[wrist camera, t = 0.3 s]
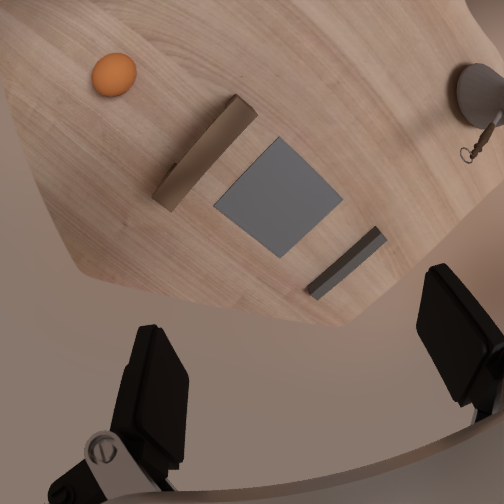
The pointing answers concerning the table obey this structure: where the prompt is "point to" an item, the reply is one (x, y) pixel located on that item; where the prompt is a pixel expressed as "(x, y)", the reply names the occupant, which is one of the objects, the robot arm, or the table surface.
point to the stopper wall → (347, 263)
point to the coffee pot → (481, 101)
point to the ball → (114, 74)
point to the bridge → (204, 153)
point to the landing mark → (278, 198)
